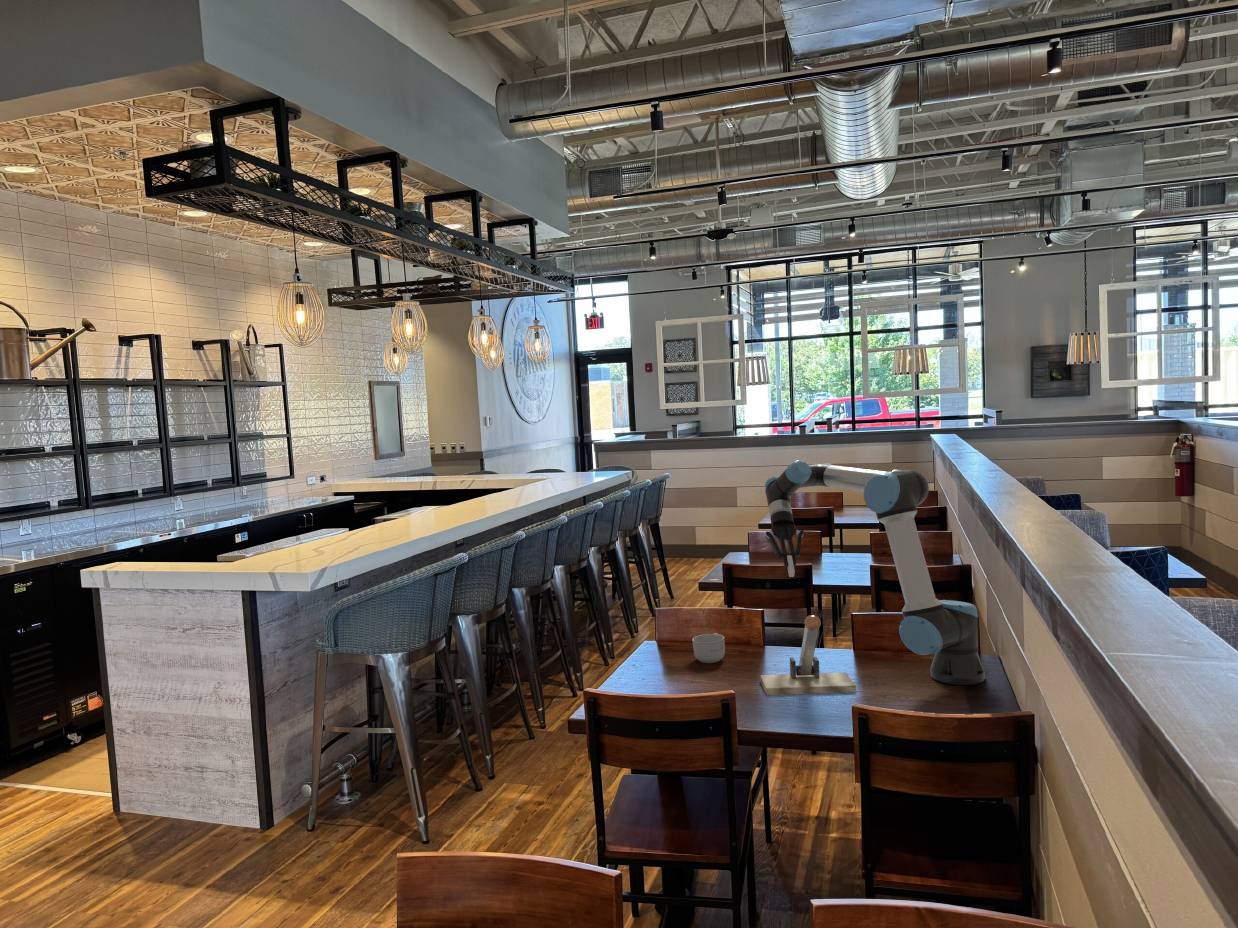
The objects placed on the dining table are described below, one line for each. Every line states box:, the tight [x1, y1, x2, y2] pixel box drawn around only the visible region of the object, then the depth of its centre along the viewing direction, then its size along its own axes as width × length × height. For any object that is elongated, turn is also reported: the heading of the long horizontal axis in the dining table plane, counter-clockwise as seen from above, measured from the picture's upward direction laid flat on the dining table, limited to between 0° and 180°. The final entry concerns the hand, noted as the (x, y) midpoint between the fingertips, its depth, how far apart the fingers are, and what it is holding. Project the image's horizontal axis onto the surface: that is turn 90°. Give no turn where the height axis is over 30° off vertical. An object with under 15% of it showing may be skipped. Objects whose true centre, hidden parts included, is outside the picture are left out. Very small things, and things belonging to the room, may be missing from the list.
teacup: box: [691, 632, 726, 664], centre depth 273 cm, size 14×11×8 cm
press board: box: [759, 656, 857, 696], centre depth 242 cm, size 26×12×8 cm, turn 88°
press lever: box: [796, 614, 821, 676], centre depth 237 cm, size 5×4×27 cm
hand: (792, 574), depth 260 cm, fingers closed
